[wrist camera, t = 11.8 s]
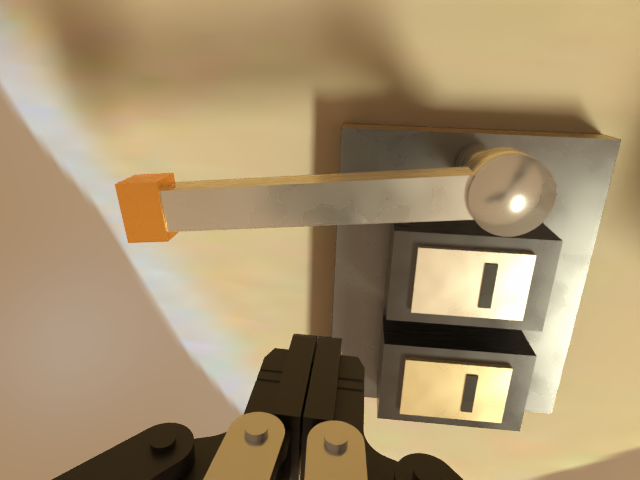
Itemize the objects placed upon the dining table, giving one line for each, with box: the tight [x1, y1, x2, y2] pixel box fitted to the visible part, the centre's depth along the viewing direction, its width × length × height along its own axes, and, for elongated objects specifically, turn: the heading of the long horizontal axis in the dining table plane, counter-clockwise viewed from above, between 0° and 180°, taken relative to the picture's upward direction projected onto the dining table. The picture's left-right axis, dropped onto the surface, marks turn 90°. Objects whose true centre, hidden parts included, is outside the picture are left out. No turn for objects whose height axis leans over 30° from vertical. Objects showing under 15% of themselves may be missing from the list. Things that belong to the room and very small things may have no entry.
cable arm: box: [115, 147, 556, 243], centre depth 20 cm, size 18×3×2 cm, turn 94°
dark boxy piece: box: [332, 123, 621, 431], centre depth 26 cm, size 17×14×7 cm
